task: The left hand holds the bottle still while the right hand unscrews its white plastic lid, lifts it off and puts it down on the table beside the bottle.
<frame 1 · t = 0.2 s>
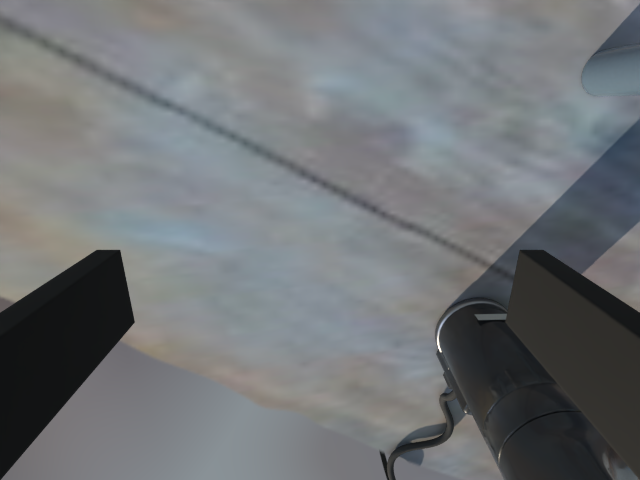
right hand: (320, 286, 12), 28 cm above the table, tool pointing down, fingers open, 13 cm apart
bottle: (603, 73, 36), on the table
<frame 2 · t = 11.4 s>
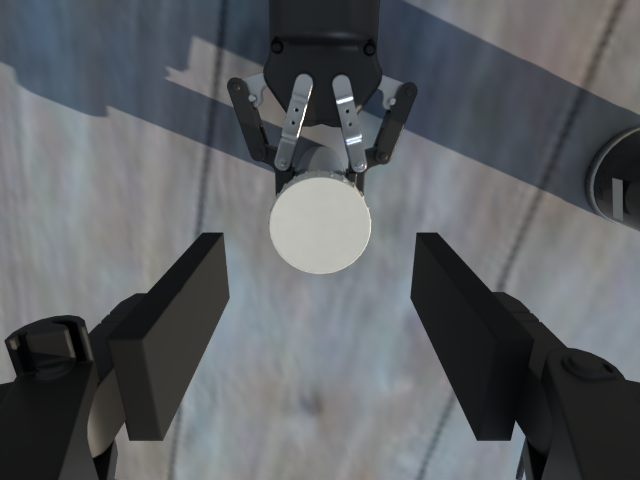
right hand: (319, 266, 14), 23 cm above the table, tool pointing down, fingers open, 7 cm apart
left hand: (319, 214, 30), fingers closed on bottle, 4 cm apart
lid: (319, 225, 19), point 18 cm above the table, screwed on, not yet turned
bottle: (320, 168, 35), on the table, touching left hand
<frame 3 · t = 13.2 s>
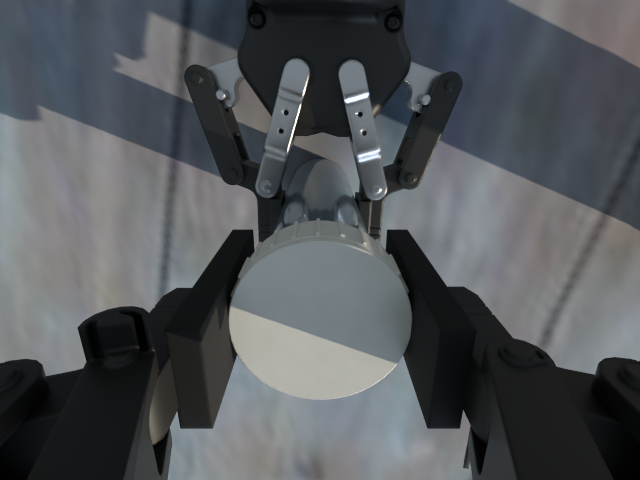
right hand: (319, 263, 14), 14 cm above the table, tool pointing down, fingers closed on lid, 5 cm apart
left hand: (319, 254, 22), fingers closed on bottle, 4 cm apart
lid: (320, 320, 10), point 18 cm above the table, screwed on, not yet turned, touching right hand
bottle: (320, 187, 27), on the table, touching left hand
when the right hand's fingers open (14 cm above the table, at t = 14.4 s): lid stays where it is, point 18 cm above the table.
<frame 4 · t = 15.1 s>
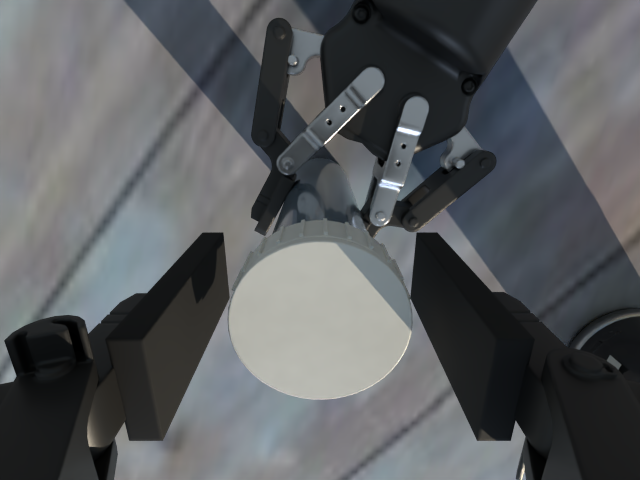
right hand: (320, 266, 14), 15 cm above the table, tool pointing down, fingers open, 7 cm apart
left hand: (298, 247, 22), fingers closed on bottle, 4 cm apart
lid: (320, 320, 10), point 18 cm above the table, turned 96° so far, risen 0.3 cm, still on its thread
bottle: (320, 186, 28), on the table, touching left hand
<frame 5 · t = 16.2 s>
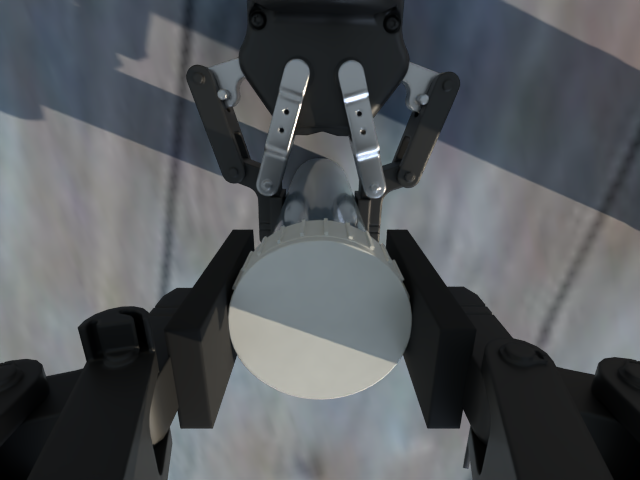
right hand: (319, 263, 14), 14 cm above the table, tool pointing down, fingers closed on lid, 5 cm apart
left hand: (319, 252, 22), fingers closed on bottle, 4 cm apart
lid: (319, 320, 10), point 18 cm above the table, turned 96° so far, risen 0.3 cm, still on its thread, touching right hand
bottle: (320, 186, 28), on the table, touching left hand
when the right hand's fingers open (0 cm above the table, at t = 23.0 s): lid drops 3 cm, point 1 cm above the table.
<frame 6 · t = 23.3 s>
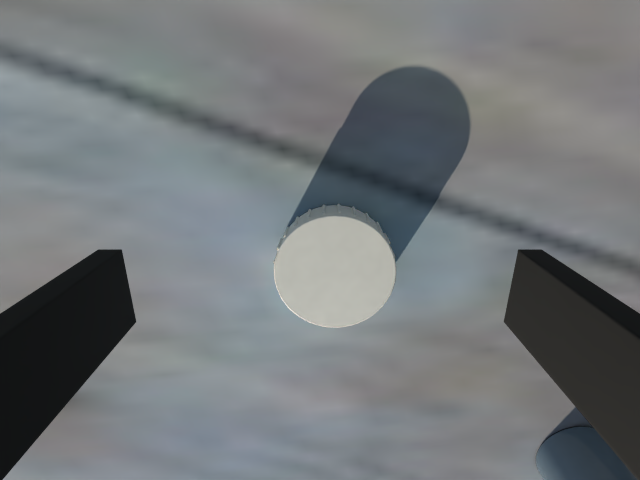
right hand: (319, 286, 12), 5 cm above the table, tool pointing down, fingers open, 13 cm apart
lid: (334, 271, 16), point 1 cm above the table, off its thread
bottle: (573, 455, 20), on the table, touching left hand
when the left hand's fingers open (7 cm above the table, at t = 23.6 s): bottle stays where it is, on the table.
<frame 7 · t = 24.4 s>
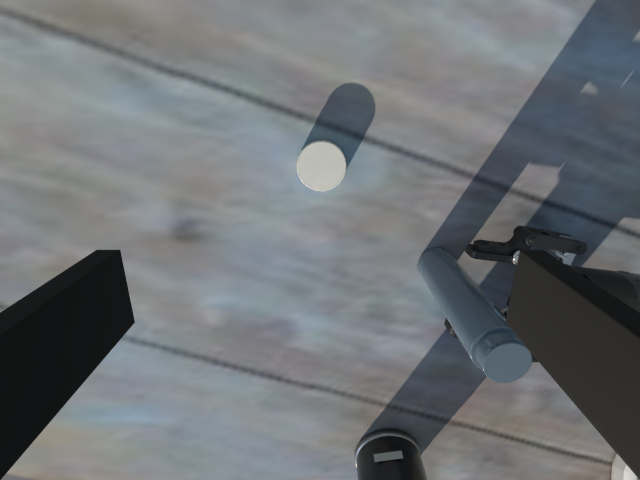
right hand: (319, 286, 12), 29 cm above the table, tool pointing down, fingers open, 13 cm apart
lid: (321, 166, 38), point 1 cm above the table, off its thread
bottle: (435, 263, 43), on the table
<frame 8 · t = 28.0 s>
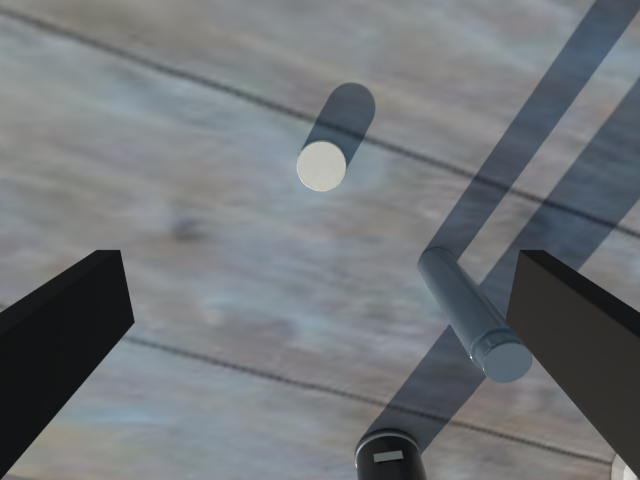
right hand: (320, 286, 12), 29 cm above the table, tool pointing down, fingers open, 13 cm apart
lid: (321, 166, 38), point 1 cm above the table, off its thread
bottle: (435, 263, 43), on the table
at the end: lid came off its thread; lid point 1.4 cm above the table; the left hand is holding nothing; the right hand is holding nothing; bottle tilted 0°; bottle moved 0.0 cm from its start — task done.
